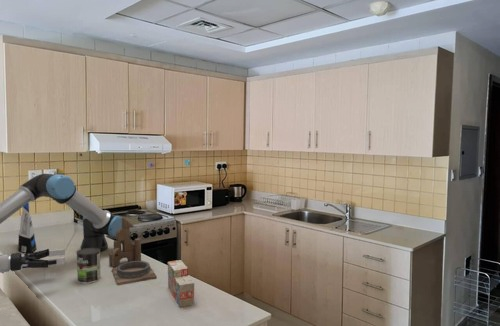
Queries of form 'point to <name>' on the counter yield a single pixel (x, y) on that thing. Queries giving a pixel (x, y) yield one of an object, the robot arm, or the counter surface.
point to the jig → (133, 272)
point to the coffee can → (88, 265)
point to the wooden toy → (125, 246)
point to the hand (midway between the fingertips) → (65, 255)
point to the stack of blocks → (180, 283)
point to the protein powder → (26, 233)
